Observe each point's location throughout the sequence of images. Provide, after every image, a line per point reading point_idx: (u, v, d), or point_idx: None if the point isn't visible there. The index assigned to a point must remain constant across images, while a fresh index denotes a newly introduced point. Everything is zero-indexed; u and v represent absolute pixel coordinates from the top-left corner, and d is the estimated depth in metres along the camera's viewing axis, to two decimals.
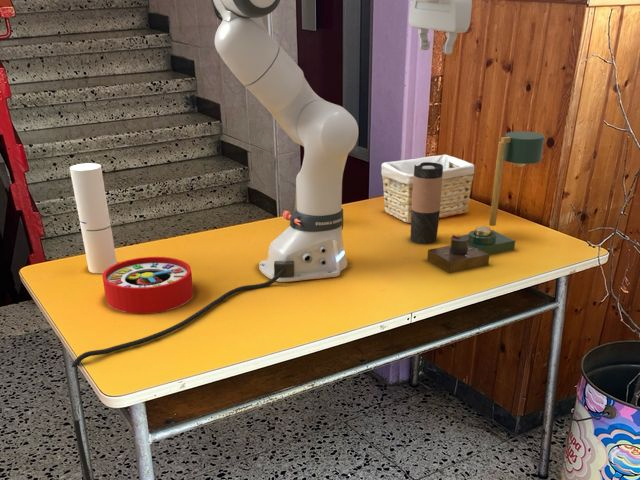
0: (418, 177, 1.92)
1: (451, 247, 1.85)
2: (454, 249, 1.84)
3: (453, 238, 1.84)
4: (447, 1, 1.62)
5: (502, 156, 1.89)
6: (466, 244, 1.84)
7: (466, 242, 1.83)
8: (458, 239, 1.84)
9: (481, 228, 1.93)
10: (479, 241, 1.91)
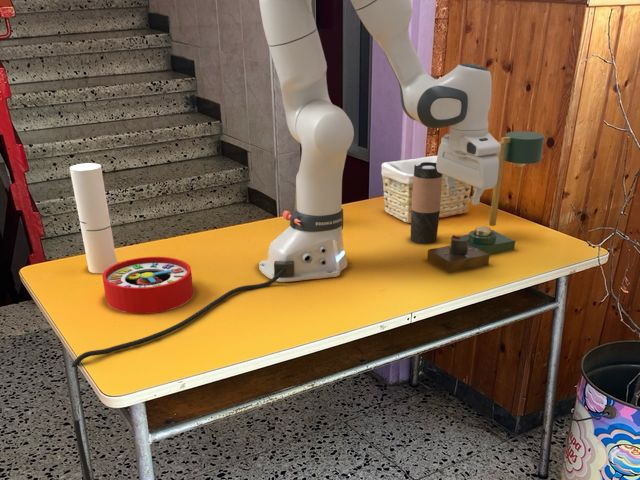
0: (418, 177, 1.92)
1: (451, 247, 1.85)
2: (454, 249, 1.84)
3: (453, 238, 1.84)
4: (475, 160, 1.68)
5: (502, 156, 1.89)
6: (466, 244, 1.84)
7: (466, 242, 1.83)
8: (458, 239, 1.84)
9: (481, 228, 1.93)
10: (479, 241, 1.91)
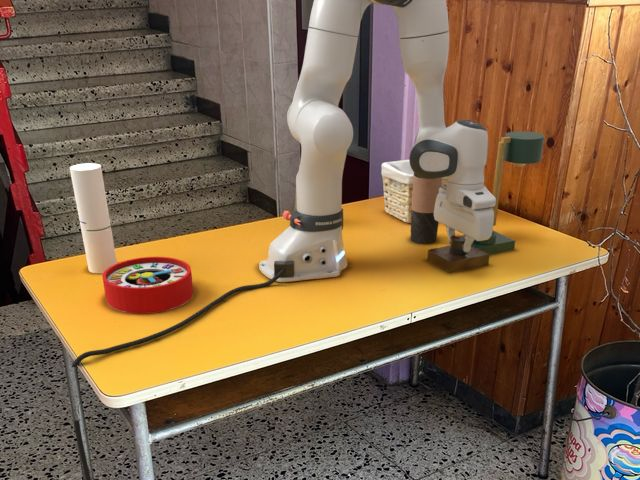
0: (418, 177, 1.92)
1: (451, 247, 1.85)
2: (454, 249, 1.84)
3: (453, 238, 1.84)
4: (471, 213, 1.74)
5: (502, 156, 1.89)
6: None
7: None
8: (458, 239, 1.84)
9: None
10: (479, 241, 1.91)
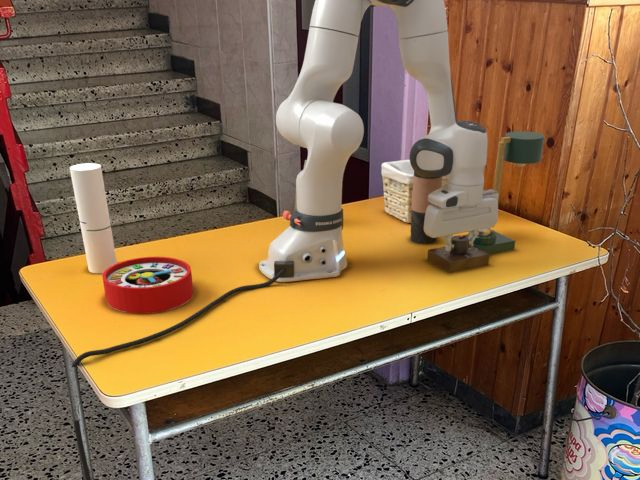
0: (418, 177, 1.92)
1: None
2: None
3: (458, 236, 1.86)
4: None
5: (502, 156, 1.89)
6: None
7: (454, 242, 1.84)
8: (455, 237, 1.85)
9: None
10: (479, 241, 1.91)
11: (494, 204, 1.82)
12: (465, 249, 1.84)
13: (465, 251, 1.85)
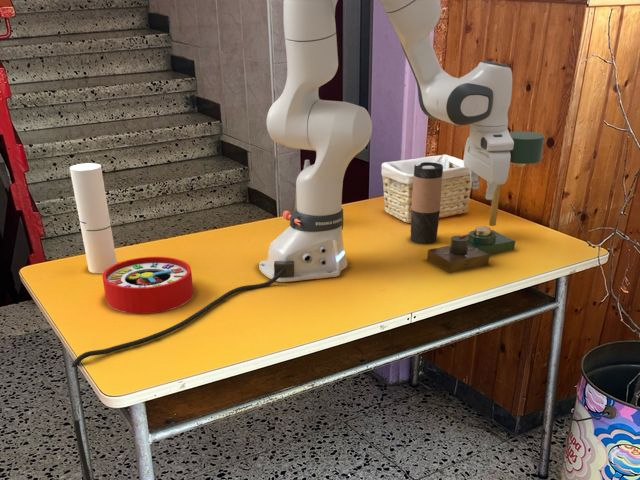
0: (418, 177, 1.92)
1: None
2: None
3: (458, 236, 1.86)
4: (487, 156, 1.73)
5: None
6: (454, 244, 1.84)
7: (453, 242, 1.84)
8: (455, 237, 1.85)
9: (481, 228, 1.93)
10: (479, 241, 1.91)
11: None
12: (465, 249, 1.84)
13: (465, 251, 1.85)
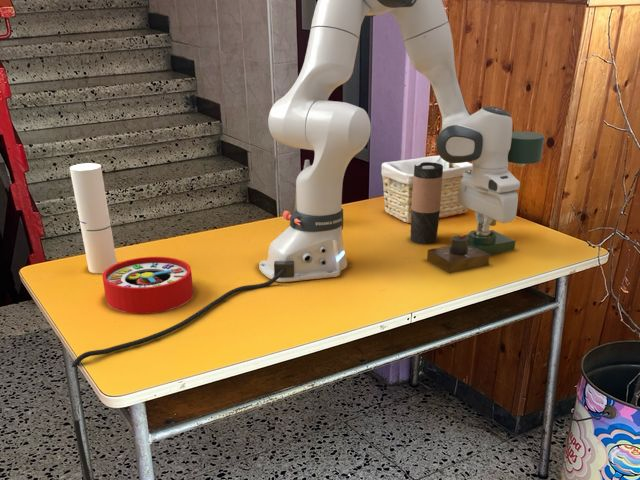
0: (418, 177, 1.92)
1: None
2: None
3: (458, 236, 1.86)
4: (496, 196, 1.82)
5: None
6: (454, 244, 1.84)
7: (453, 242, 1.84)
8: (455, 237, 1.85)
9: None
10: (479, 241, 1.91)
11: None
12: (465, 249, 1.84)
13: (465, 251, 1.85)
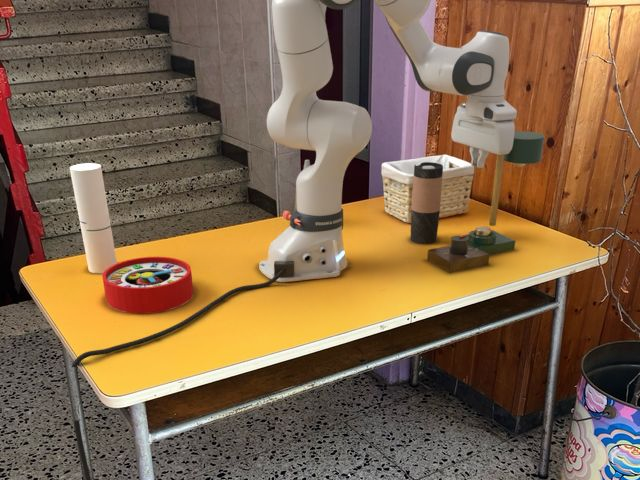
0: (418, 177, 1.92)
1: None
2: None
3: (458, 236, 1.86)
4: (491, 126, 1.73)
5: (502, 156, 1.89)
6: (454, 244, 1.84)
7: (453, 242, 1.84)
8: (455, 237, 1.85)
9: (481, 228, 1.93)
10: (479, 241, 1.91)
11: None
12: (465, 249, 1.84)
13: (465, 251, 1.85)
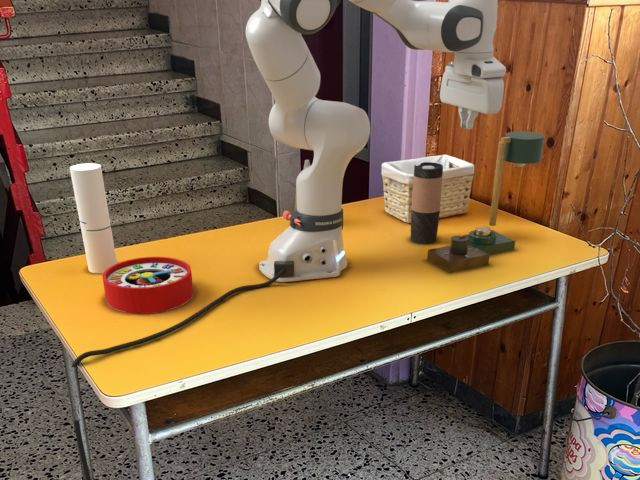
0: (418, 177, 1.92)
1: None
2: None
3: (458, 236, 1.86)
4: (480, 84, 1.67)
5: (502, 156, 1.89)
6: (454, 244, 1.84)
7: (453, 242, 1.84)
8: (455, 237, 1.85)
9: (481, 228, 1.93)
10: (479, 241, 1.91)
11: None
12: (465, 249, 1.84)
13: (465, 251, 1.85)
